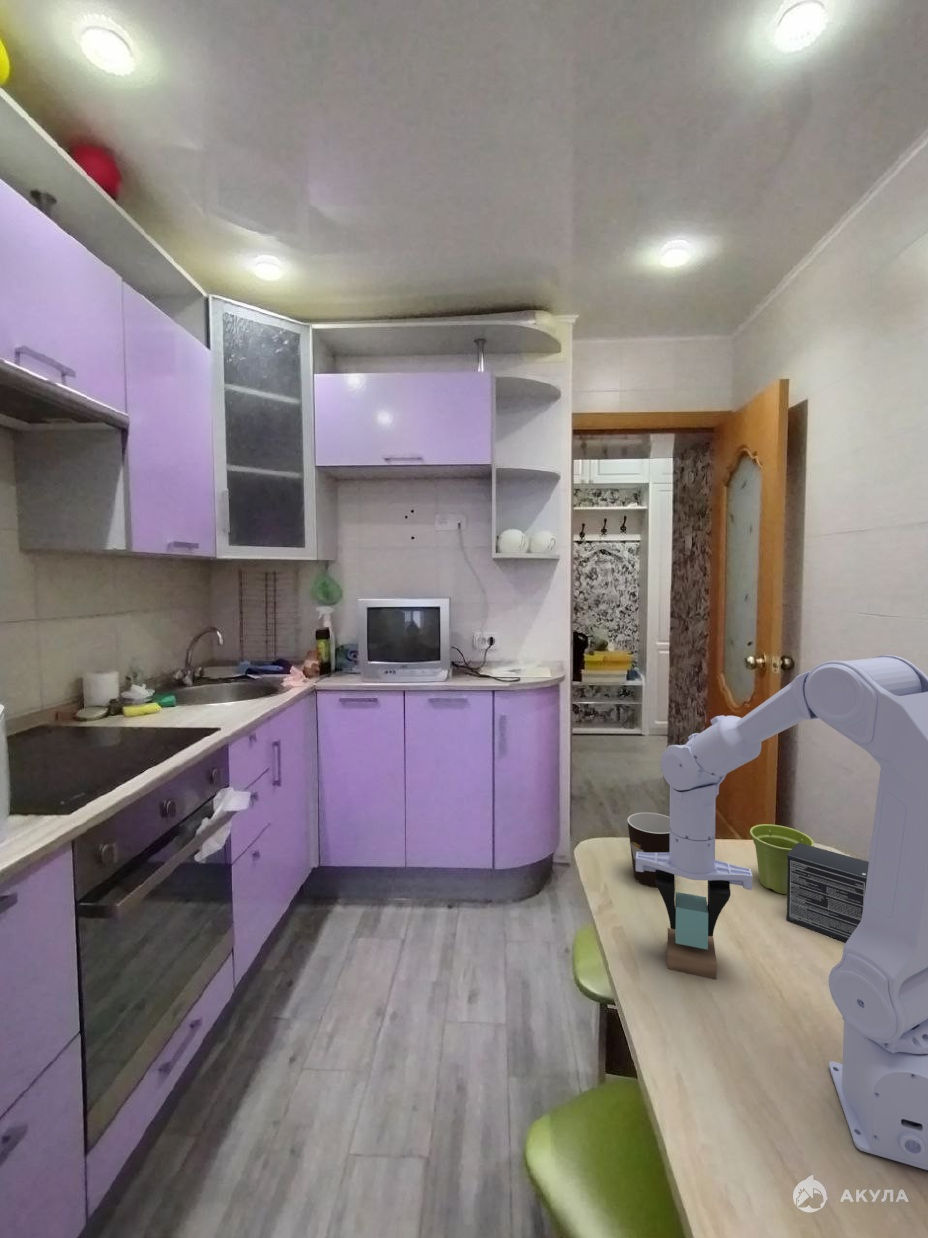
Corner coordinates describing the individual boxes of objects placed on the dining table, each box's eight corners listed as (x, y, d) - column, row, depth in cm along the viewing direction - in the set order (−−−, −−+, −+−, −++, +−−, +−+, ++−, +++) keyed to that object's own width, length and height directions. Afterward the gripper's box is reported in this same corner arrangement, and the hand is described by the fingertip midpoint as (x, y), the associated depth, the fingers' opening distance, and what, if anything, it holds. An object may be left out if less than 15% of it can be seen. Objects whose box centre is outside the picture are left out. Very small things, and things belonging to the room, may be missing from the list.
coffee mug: (621, 865, 100) (622, 812, 100) (669, 865, 100) (669, 812, 99) (639, 901, 89) (640, 841, 88) (693, 902, 88) (694, 842, 88)
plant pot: (795, 872, 97) (796, 825, 96) (824, 902, 88) (825, 850, 87) (740, 870, 98) (741, 823, 97) (763, 900, 89) (764, 848, 88)
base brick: (716, 979, 71) (716, 964, 71) (667, 968, 73) (667, 954, 73) (713, 950, 76) (713, 936, 76) (667, 941, 79) (667, 928, 78)
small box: (878, 931, 80) (880, 862, 80) (870, 953, 76) (872, 879, 75) (796, 903, 88) (797, 839, 87) (784, 920, 83) (786, 854, 82)
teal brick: (707, 949, 72) (708, 913, 72) (675, 943, 74) (675, 907, 73) (705, 932, 76) (706, 897, 76) (675, 926, 77) (675, 892, 77)
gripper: (747, 826, 75) (746, 922, 76) (637, 813, 80) (637, 902, 81) (755, 850, 68) (753, 954, 69) (634, 833, 73) (634, 930, 74)
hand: (691, 928), depth 74 cm, fingers closed on teal brick, 4 cm apart
